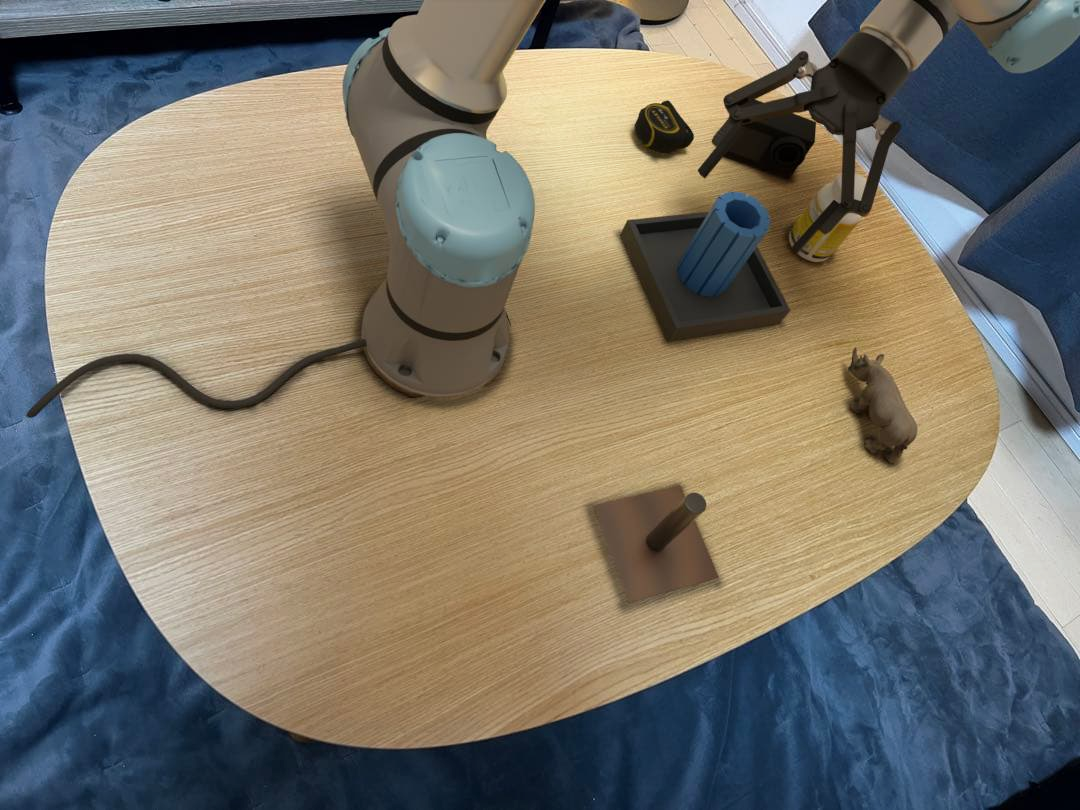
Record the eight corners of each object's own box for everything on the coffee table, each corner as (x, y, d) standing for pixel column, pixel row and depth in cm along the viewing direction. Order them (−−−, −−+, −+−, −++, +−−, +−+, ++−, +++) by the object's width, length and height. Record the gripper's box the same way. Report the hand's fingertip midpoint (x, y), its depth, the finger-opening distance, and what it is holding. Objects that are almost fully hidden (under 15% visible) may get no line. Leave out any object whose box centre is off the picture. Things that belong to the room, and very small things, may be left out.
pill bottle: (833, 238, 112) (882, 179, 102) (827, 271, 108) (876, 213, 99) (791, 219, 112) (835, 158, 102) (783, 251, 108) (828, 191, 99)
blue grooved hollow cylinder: (690, 300, 99) (730, 240, 90) (669, 256, 102) (706, 193, 93) (736, 293, 102) (779, 234, 92) (714, 250, 104) (755, 188, 95)
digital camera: (717, 160, 114) (740, 121, 108) (721, 134, 116) (744, 94, 111) (788, 186, 115) (815, 148, 109) (790, 159, 117) (816, 121, 112)
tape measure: (688, 153, 113) (700, 132, 110) (647, 163, 110) (658, 142, 107) (663, 117, 115) (673, 95, 112) (622, 125, 112) (631, 103, 109)
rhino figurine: (857, 359, 102) (886, 332, 97) (901, 463, 96) (934, 439, 91) (828, 361, 101) (856, 334, 96) (871, 466, 95) (903, 442, 90)
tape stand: (625, 606, 80) (667, 569, 71) (589, 509, 84) (625, 463, 75) (714, 580, 84) (766, 542, 74) (676, 489, 88) (721, 442, 78)
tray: (667, 342, 97) (676, 328, 94) (619, 234, 103) (627, 219, 100) (779, 323, 102) (790, 310, 100) (727, 223, 108) (737, 208, 106)
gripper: (972, 132, 91) (833, 285, 96) (792, -3, 96) (668, 151, 101) (987, 114, 84) (836, 281, 89) (792, -31, 88) (658, 136, 93)
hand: (746, 212), depth 95 cm, fingers open, 13 cm apart
